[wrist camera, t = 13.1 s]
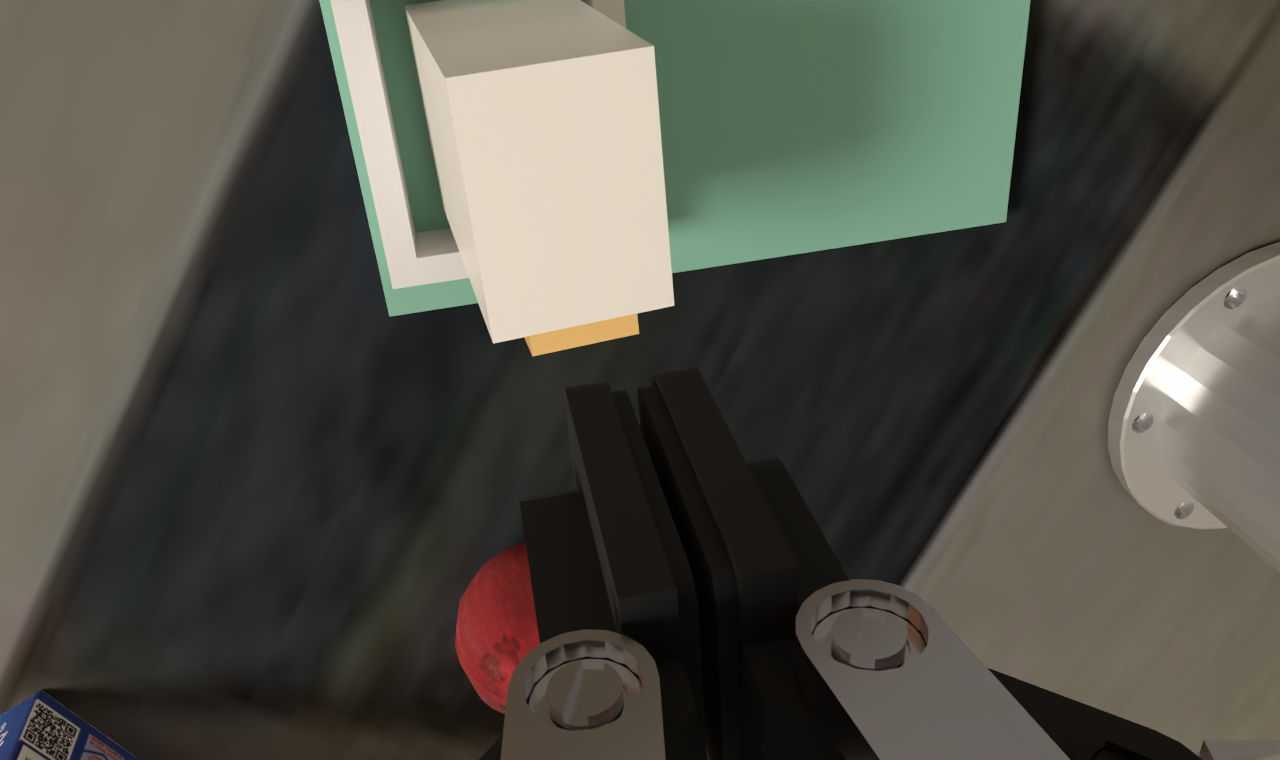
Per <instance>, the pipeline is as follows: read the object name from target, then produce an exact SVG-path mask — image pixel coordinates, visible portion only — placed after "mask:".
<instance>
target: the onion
mask: <svg viewBox="0 0 1280 760" xmlns="http://www.w3.org/2000/svg"><path fill="white" fill-rule="evenodd" d="M539 644H540V640H539V633H538V626H537V619H536V612H535V605H534V598H533V591H532V584H531V577H530V570H529V563H528V556H527V549H526V542H524V543H521V544H518V545H515V546H512V547H509V548H506V549H503V550H502V551H501V552H499V553H498V554H497V555H495V556H494V557H493V558H491V559H490V560H489V561H487V562H486V563H485V564H483V566H482V567H481V568H480V570H479V571H478V572H477V574H476V575H475V577H474V578H473V580H472V581H471V583H470V585H469V586H468V588H467V589H466V591H465V593H464V594H463V596H462V597H461V599H460V603H459V610H458V617H457V629H456V642H455V647H456V651H457V654H458V658H459V661H460V664H461V666H462V668H463V669H464V671H465V673H466V675H467V676H468V678H469V680H470V682H471V683H472V685H473V687H474V688H475V690H476V692H477V693H478V695H479V696H480V698H481V699H482V700H483V701H484V702H485V703H486V704H487V705H488V706H490V707H491V708H493V709H495V710H496V711H498V712H500V713H503V714H505V710H506V700H507V690H508V686H509V683H510V680H511V676H512V673H513V671H514V669H515V668H516V667H517V665H518V664H519V663H520V661H521V660H522V659H523V657H524V656H525V655H526V654H527V653H529V652H530V651H531V650H533V649H534V648H535V647H537V646H538V645H539Z"/></svg>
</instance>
